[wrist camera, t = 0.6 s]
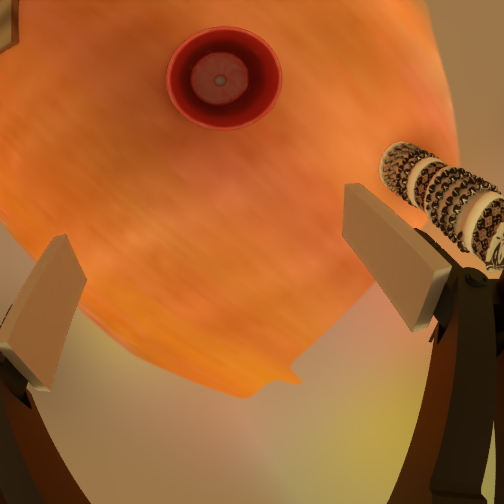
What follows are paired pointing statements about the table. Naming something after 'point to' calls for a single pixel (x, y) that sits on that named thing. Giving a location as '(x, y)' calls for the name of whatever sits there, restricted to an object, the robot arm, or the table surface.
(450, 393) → the robot arm
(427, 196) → the decorative candle
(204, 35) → the flower pot
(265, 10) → the table surface
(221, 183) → the table surface
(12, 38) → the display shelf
